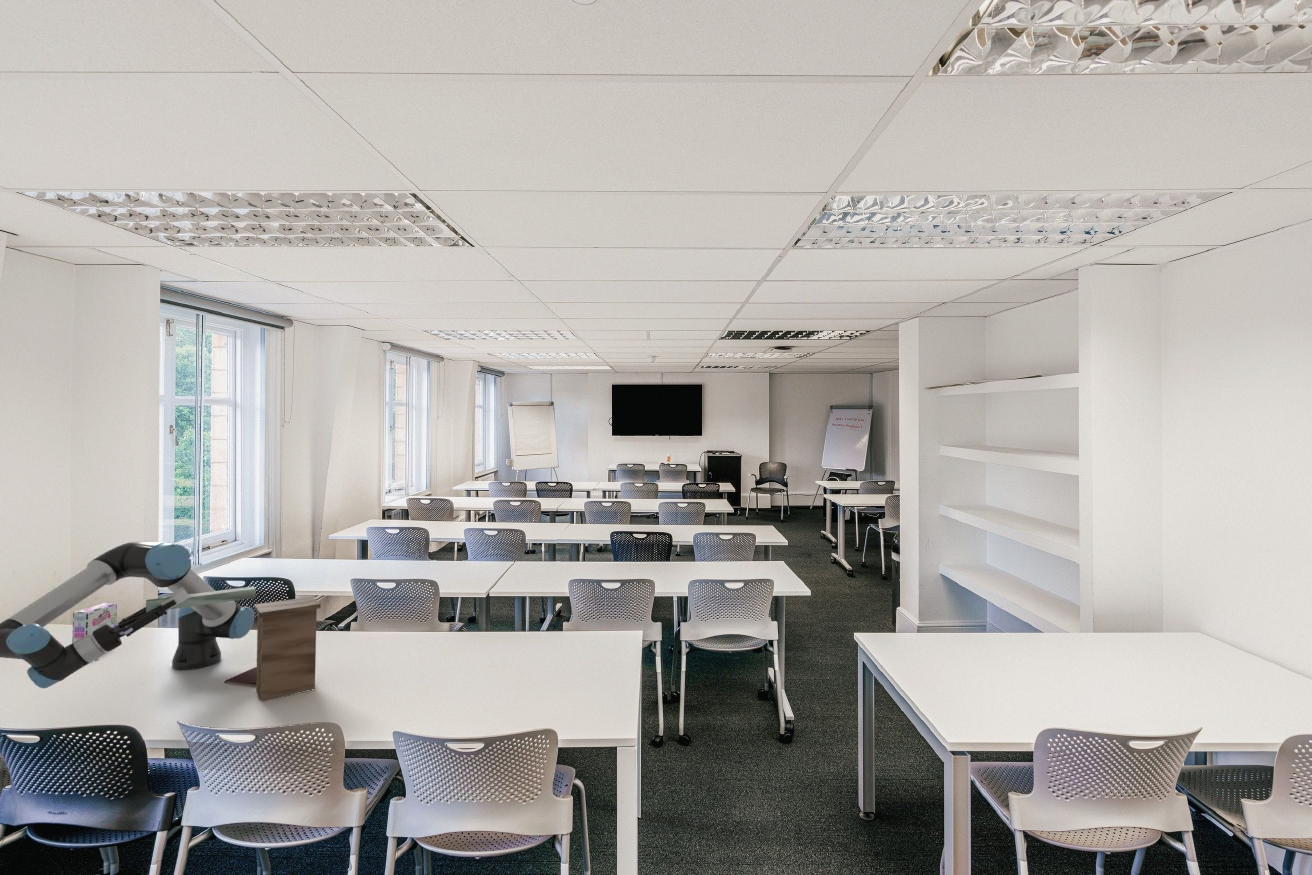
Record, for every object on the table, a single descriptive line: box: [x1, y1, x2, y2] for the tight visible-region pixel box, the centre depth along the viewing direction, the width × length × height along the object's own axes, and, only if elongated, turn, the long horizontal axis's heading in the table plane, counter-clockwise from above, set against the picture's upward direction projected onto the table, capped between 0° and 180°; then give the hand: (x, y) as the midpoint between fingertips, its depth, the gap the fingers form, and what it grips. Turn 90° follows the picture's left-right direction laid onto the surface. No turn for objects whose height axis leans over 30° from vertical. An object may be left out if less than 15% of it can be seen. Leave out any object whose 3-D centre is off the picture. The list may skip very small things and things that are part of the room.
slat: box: [145, 585, 257, 613], centre depth 198 cm, size 4×28×3 cm, turn 131°
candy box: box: [71, 602, 118, 644], centre depth 250 cm, size 14×6×16 cm, turn 179°
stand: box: [253, 596, 322, 702], centre depth 214 cm, size 12×18×30 cm, turn 131°
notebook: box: [224, 666, 257, 688], centre depth 227 cm, size 15×20×2 cm
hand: (185, 592), depth 195 cm, fingers closed on slat, 4 cm apart
